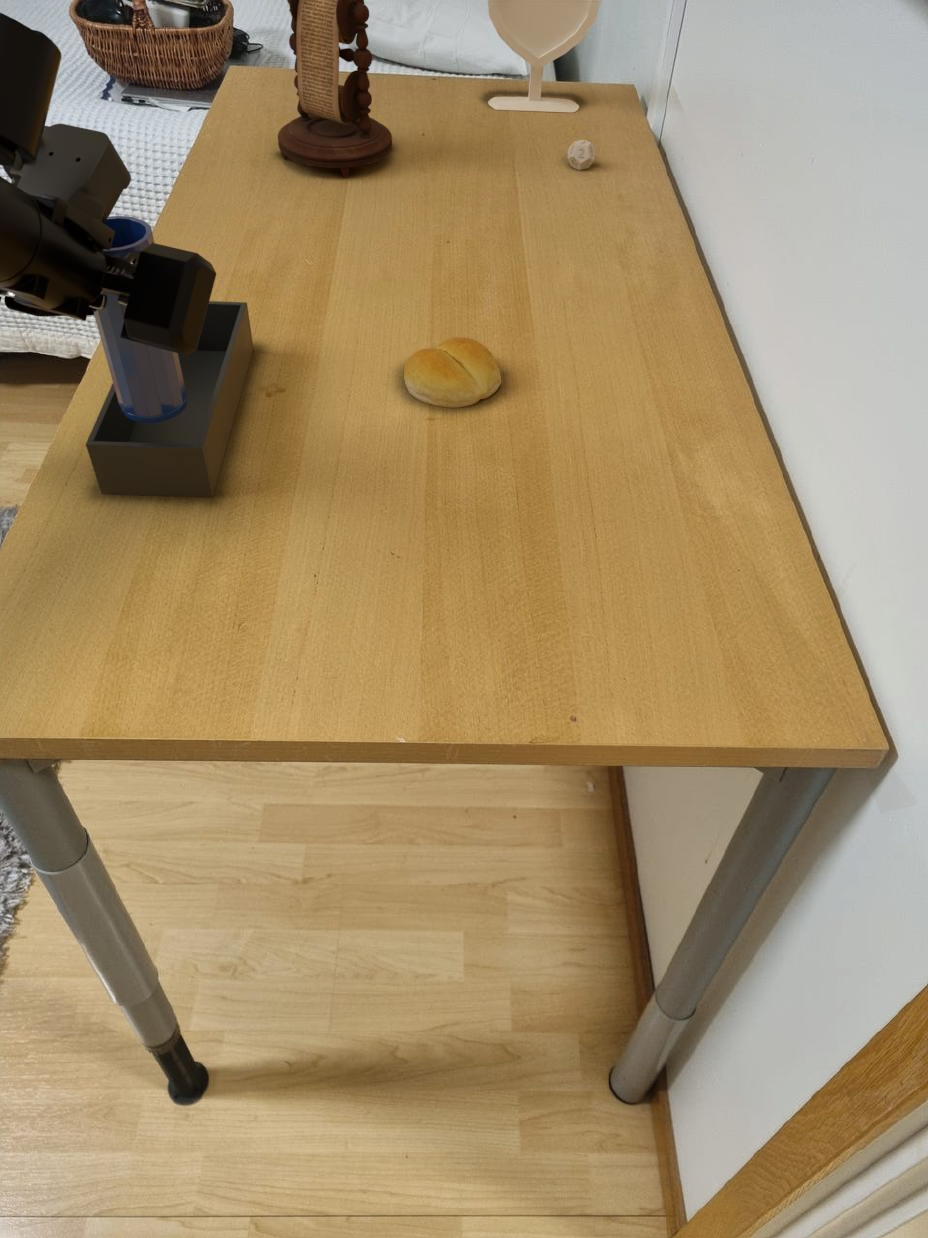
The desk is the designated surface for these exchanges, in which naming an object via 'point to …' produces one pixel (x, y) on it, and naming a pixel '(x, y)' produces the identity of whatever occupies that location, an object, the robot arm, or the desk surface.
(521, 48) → the heart sculpture
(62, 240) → the robot arm
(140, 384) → the cup
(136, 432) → the basket
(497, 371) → the bread roll
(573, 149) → the game die
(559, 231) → the desk surface
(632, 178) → the desk surface
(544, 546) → the desk surface
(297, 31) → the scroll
